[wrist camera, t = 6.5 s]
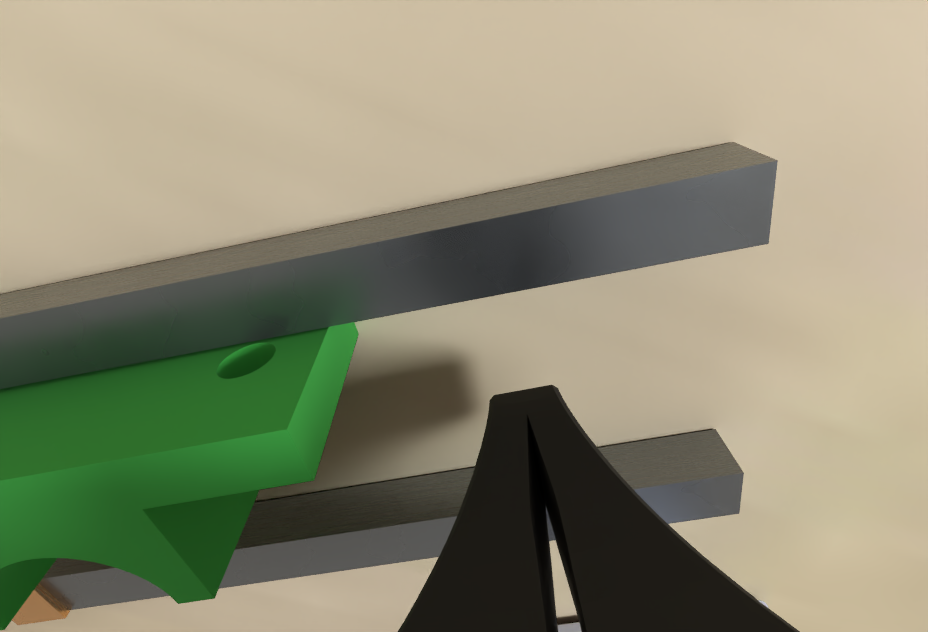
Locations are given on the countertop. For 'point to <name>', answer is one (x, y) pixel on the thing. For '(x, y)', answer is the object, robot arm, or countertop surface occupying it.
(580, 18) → the countertop surface
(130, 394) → the pipe clamp
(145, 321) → the guide track
